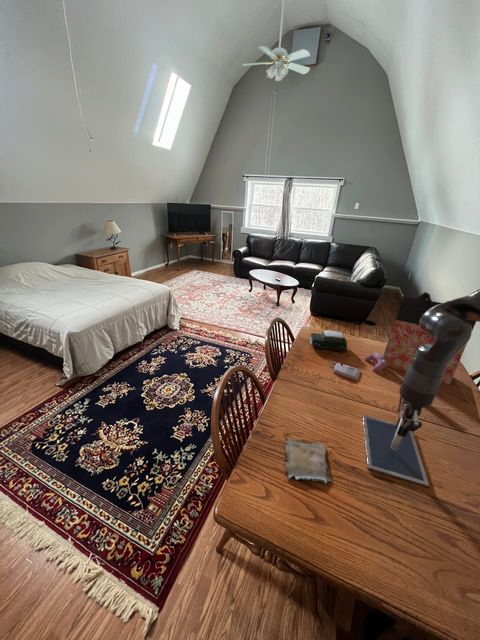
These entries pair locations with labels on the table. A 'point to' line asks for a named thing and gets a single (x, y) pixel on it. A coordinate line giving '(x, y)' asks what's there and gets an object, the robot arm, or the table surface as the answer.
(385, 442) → the tablet
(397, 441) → the stylus
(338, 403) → the table surface
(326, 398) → the table surface
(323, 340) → the miniature car
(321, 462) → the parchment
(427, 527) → the table surface
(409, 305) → the gift bag
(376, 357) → the video game controller
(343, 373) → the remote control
